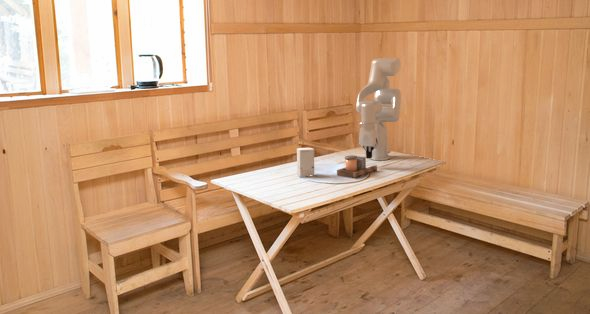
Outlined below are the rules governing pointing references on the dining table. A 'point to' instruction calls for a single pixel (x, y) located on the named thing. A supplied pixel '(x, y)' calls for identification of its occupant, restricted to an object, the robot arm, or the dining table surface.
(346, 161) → the jar
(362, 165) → the pusher
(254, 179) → the dining table surface
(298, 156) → the skincare box
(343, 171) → the brown wooden tray
